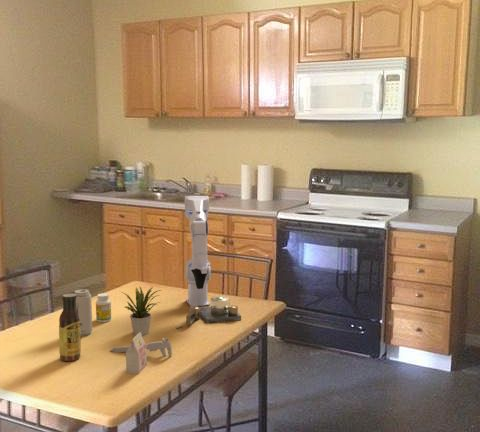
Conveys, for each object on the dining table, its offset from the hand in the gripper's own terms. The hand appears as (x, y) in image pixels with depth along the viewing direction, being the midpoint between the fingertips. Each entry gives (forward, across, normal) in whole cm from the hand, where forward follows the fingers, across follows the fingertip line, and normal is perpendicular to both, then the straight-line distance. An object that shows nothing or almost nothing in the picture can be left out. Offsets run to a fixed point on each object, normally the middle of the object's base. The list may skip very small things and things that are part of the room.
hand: (199, 288), depth 216 cm
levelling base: (+10, -4, -1) cm, 11 cm away
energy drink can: (+11, -6, +43) cm, 45 cm away
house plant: (+11, -12, +23) cm, 28 cm away
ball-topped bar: (+10, -6, +5) cm, 13 cm away
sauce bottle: (+11, -27, +48) cm, 56 cm away
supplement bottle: (+11, +6, +35) cm, 37 cm away
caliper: (+12, -30, +27) cm, 42 cm away
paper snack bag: (+12, -41, +30) cm, 52 cm away
